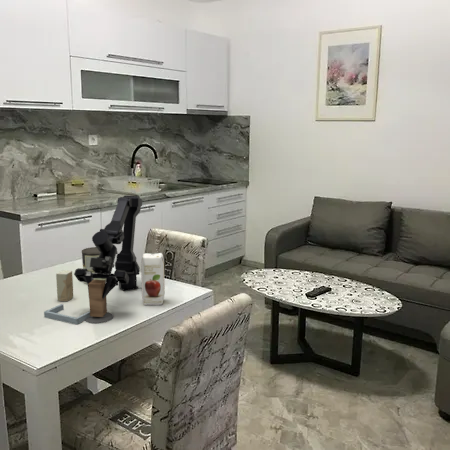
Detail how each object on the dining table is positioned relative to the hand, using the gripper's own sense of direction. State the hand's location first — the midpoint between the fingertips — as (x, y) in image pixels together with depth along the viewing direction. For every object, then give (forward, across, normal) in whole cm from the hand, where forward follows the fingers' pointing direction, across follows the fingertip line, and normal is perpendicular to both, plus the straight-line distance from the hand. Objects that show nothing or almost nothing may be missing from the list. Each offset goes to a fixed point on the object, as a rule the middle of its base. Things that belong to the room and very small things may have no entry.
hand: (96, 297), depth 169 cm
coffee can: (-23, -17, +34) cm, 45 cm away
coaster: (+5, 0, +6) cm, 8 cm away
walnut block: (+4, 0, +6) cm, 7 cm away
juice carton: (-8, +15, +19) cm, 26 cm away
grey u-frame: (+5, -11, +7) cm, 13 cm away
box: (-6, -20, +18) cm, 28 cm away
